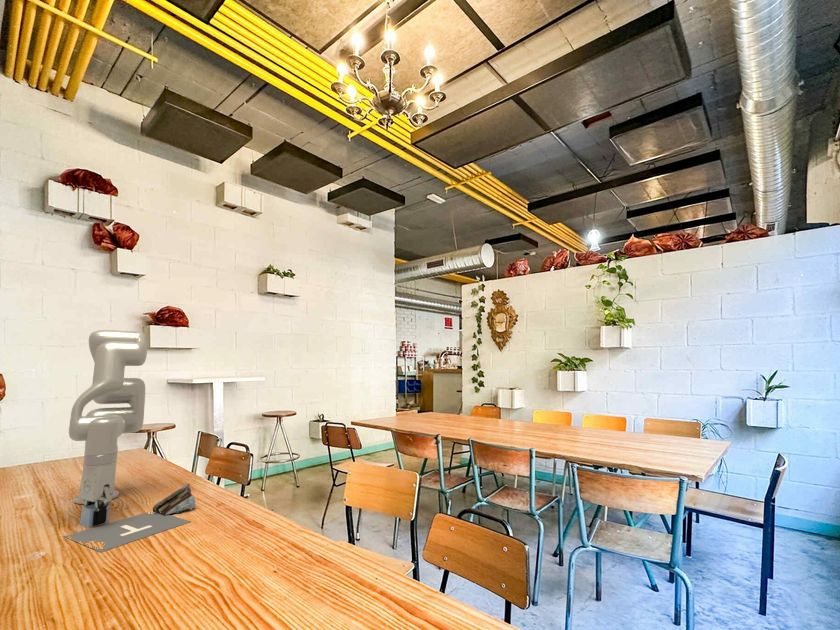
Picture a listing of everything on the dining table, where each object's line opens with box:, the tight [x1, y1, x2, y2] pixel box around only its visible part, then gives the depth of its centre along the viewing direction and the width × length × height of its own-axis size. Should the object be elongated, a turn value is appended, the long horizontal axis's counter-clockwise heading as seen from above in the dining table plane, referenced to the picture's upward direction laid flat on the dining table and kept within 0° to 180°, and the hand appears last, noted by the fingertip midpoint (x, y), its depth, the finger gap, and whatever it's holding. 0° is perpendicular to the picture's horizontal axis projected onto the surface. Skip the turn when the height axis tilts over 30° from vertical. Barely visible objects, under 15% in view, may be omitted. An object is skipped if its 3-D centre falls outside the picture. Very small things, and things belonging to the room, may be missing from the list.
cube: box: [79, 502, 111, 529], centre depth 124 cm, size 5×5×5 cm
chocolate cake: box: [152, 483, 196, 515], centre depth 135 cm, size 10×7×12 cm
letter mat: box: [63, 511, 192, 553], centre depth 120 cm, size 20×24×1 cm
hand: (94, 521), depth 124 cm, fingers closed on cube, 5 cm apart
